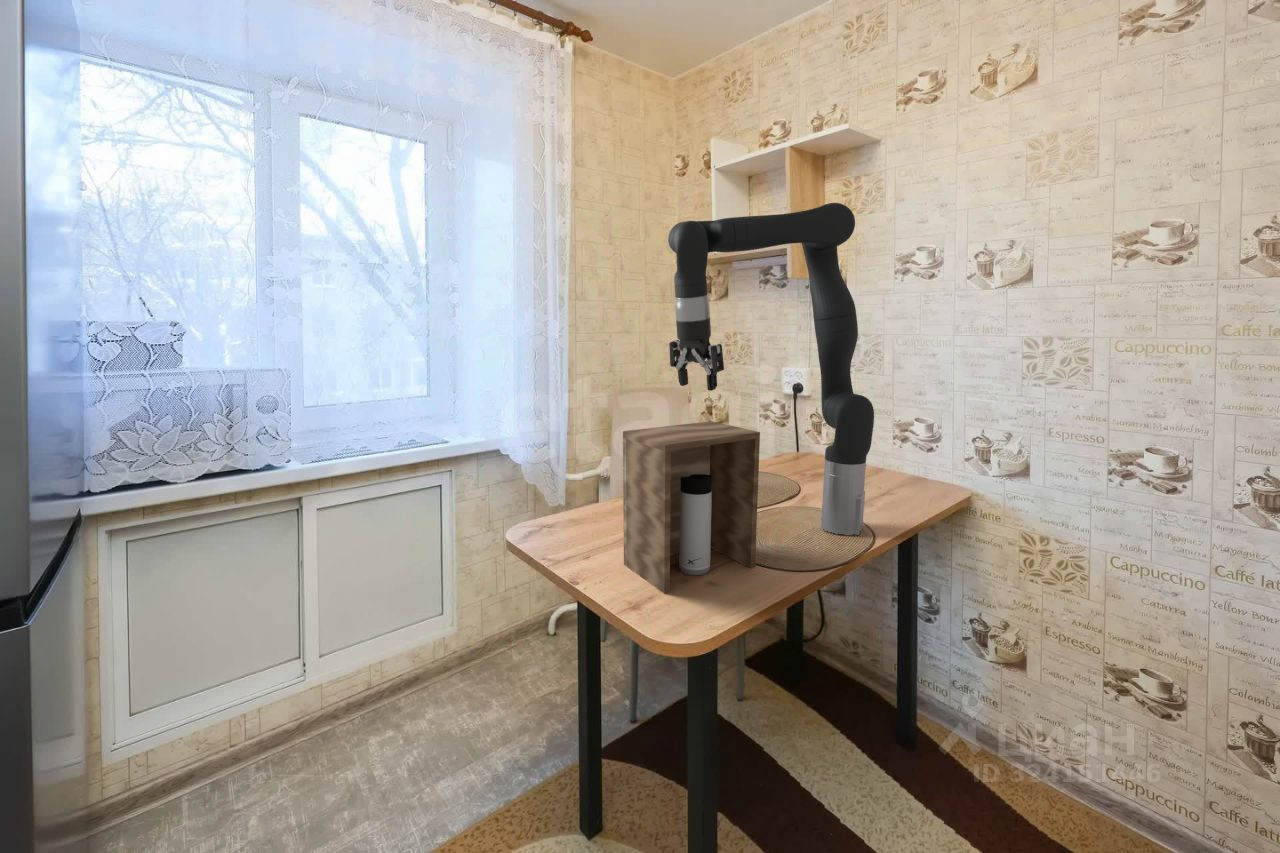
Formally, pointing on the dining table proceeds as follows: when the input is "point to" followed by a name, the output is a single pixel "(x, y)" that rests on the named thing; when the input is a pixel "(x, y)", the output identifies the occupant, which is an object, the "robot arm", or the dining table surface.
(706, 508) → the travel mug
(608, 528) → the dining table surface
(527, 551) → the dining table surface
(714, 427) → the cubby
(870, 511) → the dining table surface
